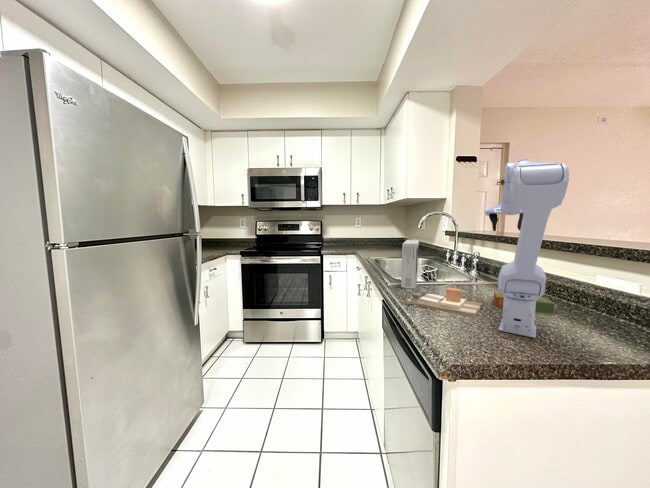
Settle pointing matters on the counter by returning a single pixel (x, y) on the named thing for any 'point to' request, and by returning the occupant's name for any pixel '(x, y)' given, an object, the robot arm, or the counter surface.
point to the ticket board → (434, 303)
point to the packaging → (409, 263)
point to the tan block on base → (453, 298)
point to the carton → (541, 304)
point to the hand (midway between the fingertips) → (506, 228)
